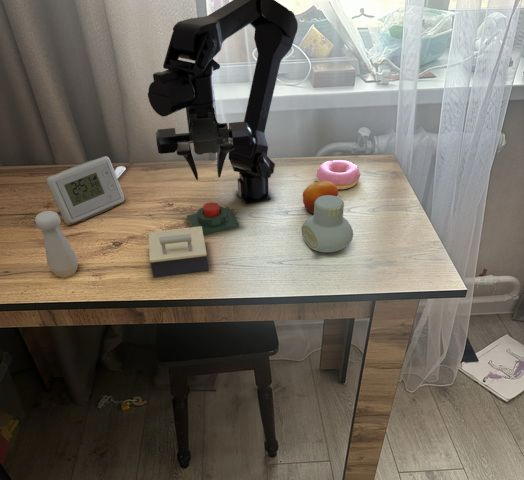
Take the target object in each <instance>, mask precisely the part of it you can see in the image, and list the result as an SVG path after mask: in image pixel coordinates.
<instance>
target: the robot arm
mask: <svg viewBox="0 0 524 480" xmlns="http://www.w3.org/2000/svg"><path fill="white" fill-rule="evenodd" d="M298 24H299V23H298V20H297V18H296V16H295V13H294V11H292V10H289V9H288V7H286V6H285V5H283V4H281V3H280V2H278V1H276V0H231V1H229V2H228V3H226V4H224V5H223V6H221V7H219V8H218V9H216V10H214V11H213V12H211V13H210V14H207V15H205V16H200V17H199V16H198V17H190V18H186V19H183V20H180V21H178V22H176V23H175V24H174V25H173V27H172V33H171V36H170V41H169V45H168V47H167V51H166V54H165V57H164V61H163V64H162V68H163V69H165V70H163V71H157V72H154V73H153V74H152V78H153V81H152V82H151V83H150V84H149V86H148V92H147V98H148V102H149V104H150V106H151V108H152V110H153V111H154V112H155V113H156V114H157V115H159V116H160V117H162V118H163V117H168V116H170V115H172V114H175V113H177V112H179V111H181V110H183V109H185V112H186V120H187V121H186V122H187V128H188V132H183V133H176V128H175V127H169V128H159V129H157V131H155V139H156V140H155V141H156V147H157V153H158V154H161V155H162V154H173V153H175V152H176V155H177V156H182V157H183V158H184V160H185V161H186V162H187V164H188V165H189V168H190V170H191V172H192V174H193V176H194V178H195V180H196V181H198V180H199V174H198V168H197V166H196V161H195V158H194V153H195V154H196V155H200V156H201V155H203V154H216V171H217V178H221V175H222V173H223V168H224V164H225V160H226V158H227V156H228V161H229V162H230V165H231V167H232V170H233V172H235V173H236V172H237V173H238V176H239V178H237V194H238V196H239V198H240V199H242V201H243V202H244V203H245V205H251V204H255V203H261V202H266V201H270V200H271V199H272V196H271V195H270V193H269V179H270V178H271V177H272V174H274V173H275V171H274V170H275V167H276V163H275V162H274V161H273V160H272V159H271V158H270V157H269V156H268V151H269V144H268V140H267V136H266V133H265V132H266V127H267V123H268V118H269V114H270V109H271V106H272V101H273V96H274V93H275V92H274V91H275V88H276V83H277V79H278V75H279V70H280V65H281V62H282V60H283V59H284V58H285V57H286V55H287V54H288V53H289V52H290V51H291V50H292V47H293V44H294V41H295V38H296V35H297V32H298V29H299V25H298ZM248 25H250V26H251V27H252V28H253V29H254V36H253V39H254V43H255V48H256V51H257V57H256V63H255V68H254V72H253V77H252V82H251V86H250V91H249V95H248V101H247V104H246V110H245V113H244V119H243V121H236V122H234V121H233V122H229V123H227V122H218V119H217V107H216V96H215V85H214V74H213V73H214V72H215V71H218V70H219V69H220V68H221V65H220V64H219V62H217V61H216V60H215V59H214V58H215V57H216V56H217V55H218V54H219V53H220V52H221V50H222V46H223V43H224V42H225V41H226V40H227V39H229V38H230V37H232V36H233V35H235V34H236V33H238V32H239V31H241V30H242V29H243V28H245V27H247V26H248ZM182 59H184V60H182ZM186 60H189V61H186ZM191 61H194V62H191ZM191 144H193V149H192V146H191ZM193 151H194V153H193Z"/></svg>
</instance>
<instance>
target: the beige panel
mask: <svg viewBox="0 0 524 480" xmlns="http://www.w3.org/2000/svg"><path fill="white" fill-rule="evenodd" d="M204 236H205V235H203V231H202V226H199V227H191V226H189V227H183V228H181V227H180V228H174V229H164V230H156V231H148V250H149V251H148V253H149V255H148V256H149V263H150V264H151V262H160V261H168V260H176V259H184V258H193V257H201V256H207V257H208V254H207V248H206V243H205V237H204Z"/></svg>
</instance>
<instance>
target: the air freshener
mask: <svg viewBox="0 0 524 480" xmlns="http://www.w3.org/2000/svg"><path fill="white" fill-rule="evenodd" d="M344 206H345V201H344V200H343V199H342V198H341V197H339V196H338V197H337V196H333V195H325V196H321V197H319V198H317V199H316V200H315V203H314V213H313V215H311V216H309V217H308V218H306V220H305V221H304V222H303V224H302V226H301V235H302V237H303V240H304V242H305V244H307V246H308V247H309V248H310V249H311V250H314V251H316V252H320V253H335V252H339V251H341V250H343V249H345V248H346V247H348V246H349V244H350V243H351V242H352V240H353V238H354V230H353V228H352V225H351V223H350V221H348V219H346V217H344V208H345V207H344Z"/></svg>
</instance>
